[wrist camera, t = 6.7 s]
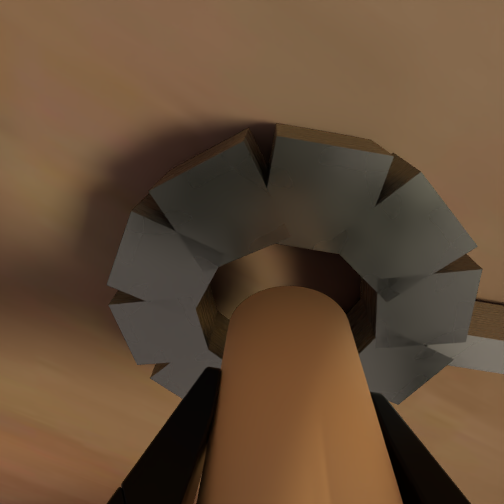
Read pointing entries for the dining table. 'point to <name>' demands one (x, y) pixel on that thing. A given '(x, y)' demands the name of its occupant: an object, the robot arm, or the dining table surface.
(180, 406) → the robot arm
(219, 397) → the rod
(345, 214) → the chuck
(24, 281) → the dining table surface
